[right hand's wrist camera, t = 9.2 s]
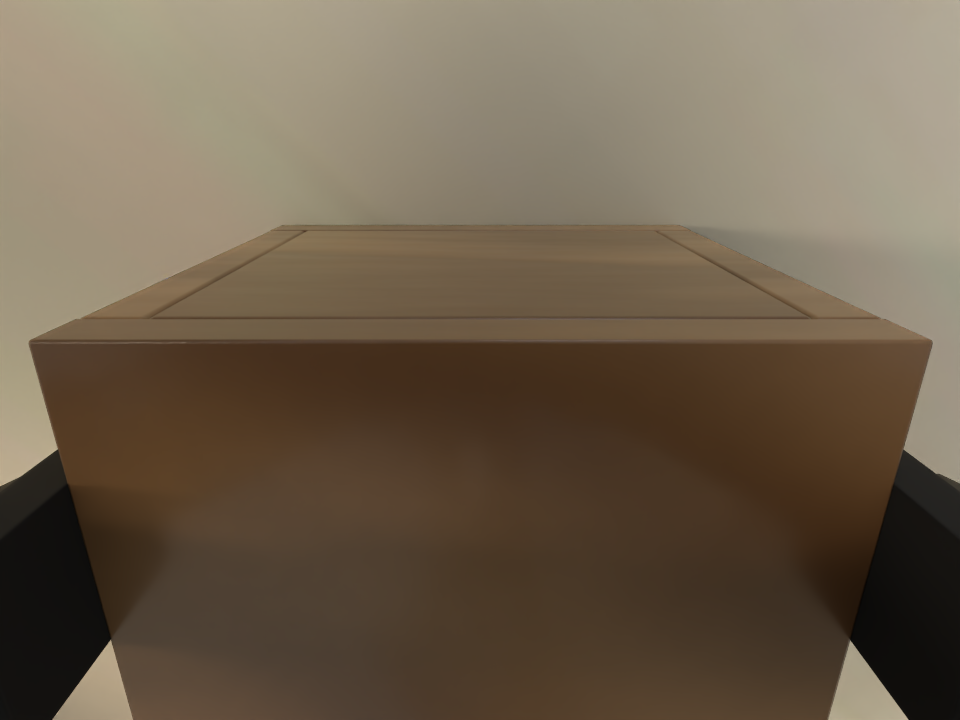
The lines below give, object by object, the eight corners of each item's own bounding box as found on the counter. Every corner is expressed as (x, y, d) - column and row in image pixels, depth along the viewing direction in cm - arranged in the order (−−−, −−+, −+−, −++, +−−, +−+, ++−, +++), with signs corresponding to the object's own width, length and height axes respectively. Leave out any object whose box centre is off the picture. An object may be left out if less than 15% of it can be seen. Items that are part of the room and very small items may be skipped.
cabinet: (623, 718, 23) (720, 1110, 14) (337, 717, 23) (240, 1109, 14) (680, 224, 17) (935, 340, 7) (280, 224, 17) (25, 340, 7)
